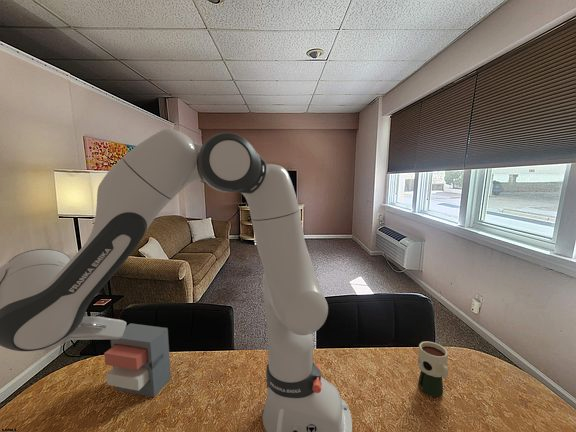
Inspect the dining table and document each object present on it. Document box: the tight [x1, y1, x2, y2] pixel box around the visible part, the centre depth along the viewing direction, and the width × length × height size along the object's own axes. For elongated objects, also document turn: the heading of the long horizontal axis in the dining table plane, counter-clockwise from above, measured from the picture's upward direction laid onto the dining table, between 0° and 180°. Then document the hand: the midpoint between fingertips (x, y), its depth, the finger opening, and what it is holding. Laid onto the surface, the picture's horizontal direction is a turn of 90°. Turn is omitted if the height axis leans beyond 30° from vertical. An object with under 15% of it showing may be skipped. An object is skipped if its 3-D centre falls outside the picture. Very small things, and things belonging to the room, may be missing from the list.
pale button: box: [105, 366, 150, 391], centre depth 69 cm, size 4×10×3 cm, turn 78°
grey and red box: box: [110, 323, 172, 398], centre depth 74 cm, size 7×13×16 cm, turn 78°
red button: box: [103, 344, 148, 370], centre depth 68 cm, size 4×10×3 cm, turn 78°
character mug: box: [417, 341, 449, 398], centre depth 71 cm, size 11×7×13 cm, turn 8°
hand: (114, 333), depth 61 cm, fingers closed
